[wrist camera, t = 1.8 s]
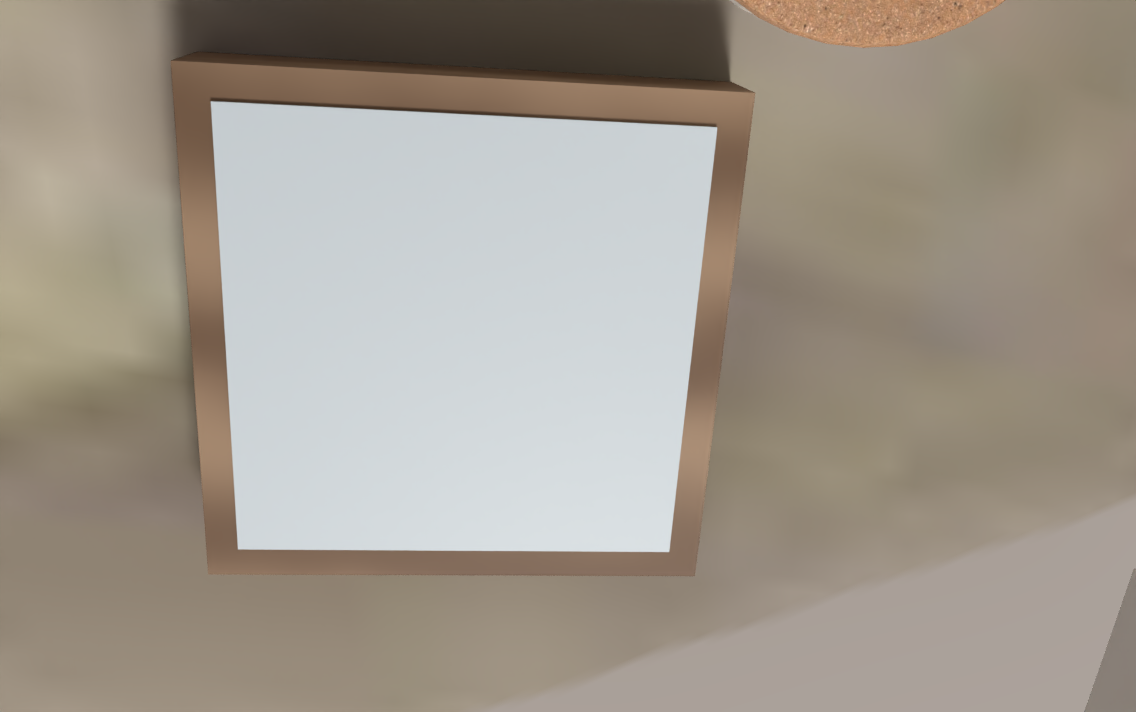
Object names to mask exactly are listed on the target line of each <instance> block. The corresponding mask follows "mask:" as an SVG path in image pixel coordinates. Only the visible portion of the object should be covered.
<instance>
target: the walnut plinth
mask: <svg viewBox="0 0 1136 712" xmlns="http://www.w3.org/2000/svg"><path fill="white" fill-rule="evenodd" d="M171 73H172V87H173V100H174V114H175V127H176V141H177V155H178V168H179V182H180V196H181V209H182V223H183V236H184V250H185V264H186V277H187V291H188V304H189V318H190V332H191V345H192V359H193V373H194V386H195V400H196V413H197V427H198V441H199V454H200V468H201V481H202V495H203V509H204V522H205V536H206V550H207V563H208V574H239V575H528V576H695V570H696V562H697V554H698V546H699V538H700V530H701V522H702V514H703V506H704V498H705V490H706V482H707V474H708V466H709V458H710V450H711V442H712V434H713V426H714V418H715V410H716V402H717V394H718V386H719V378H720V370H721V362H722V354H723V346H724V339H725V331H726V323H727V315H728V307H729V299H730V291H731V283H732V275H733V267H734V259H735V251H736V243H737V235H738V227H739V219H740V211H741V203H742V195H743V187H744V179H745V171H746V163H747V155H748V147H749V139H750V131H751V123H752V115H753V107H754V99H755V93H754V92H752V91H750V90H748V89H746V88H743V87H741V86H739V85H737V84H735V83H732V82H726V81H708V80H691V79H673V78H655V77H637V76H620V75H602V74H584V73H567V72H549V71H531V70H513V69H496V68H478V67H460V66H442V65H425V64H407V63H389V62H372V61H354V60H336V59H318V58H301V57H283V56H265V55H247V54H230V53H212V52H195V53H192V54H189V55H186V56H183V57H180V58H177V59H174V60H171Z"/></svg>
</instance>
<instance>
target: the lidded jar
mask: <svg viewBox="0 0 1136 712" xmlns="http://www.w3.org/2000/svg"><path fill="white" fill-rule="evenodd" d="M730 1H731V2H732V3H734V4H735V5H737V6H738V7H739V8H741V9H743V10H745V11H747V12H749V13H751V14H753V15H755V16H757V17H758V18H760V19H762V20H765V21H767V22H769V23H771V24H773V25H775V26H777V27H779V28H781V29H783V30H785V31H787V32H789V33H792V34H796V35H799V36H802V37H806V38H809V39H812V40H816V41H819V42H823V43H827V44H835V45H844V46H853V47H862V48H865V47H883V46H898V45H903V44H907V43H912V42H916V41H921V40H925V39H930V38H933V37H936V36H938V35H941V34H943V33H946V32H948V31H951V30H953V29H956V28H958V27H961V26H964V25H966V24H968V23H969V22H971V21H973V20H975V19H976V18H978V17H980V16H981V15H983V14H985V13H987V12H988V11H990V10H992V9H994V8H995V7H997V6H999V5H1000V4H1001V3H1002V2H1004V1H1005V0H730Z"/></svg>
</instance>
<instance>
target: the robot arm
mask: <svg viewBox="0 0 1136 712" xmlns="http://www.w3.org/2000/svg"><path fill="white" fill-rule="evenodd" d="M1084 712H1136V569H1134V570H1133V573H1132V576H1131V579H1130V582H1129V584H1128V588H1127V590H1126V593H1125V596H1124V599H1123V602H1122V605H1121V607H1120V610H1119V613H1118V616H1117V620H1116V622H1115V625H1114V628H1113V631H1112V634H1111V637H1110V639H1109V642H1108V645H1107V648H1106V651H1105V654H1104V657H1103V659H1102V662H1101V665H1100V668H1099V671H1098V674H1097V677H1096V679H1095V683H1094V685H1093V688H1092V691H1091V694H1090V697H1089V700H1088V703H1087V705H1086V709H1085V711H1084Z"/></svg>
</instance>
